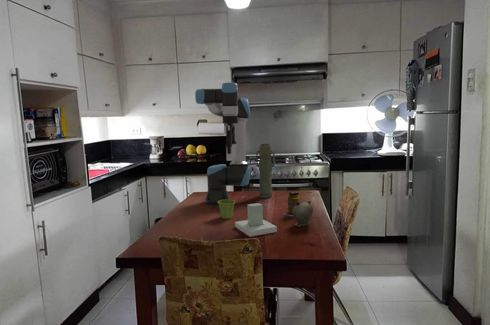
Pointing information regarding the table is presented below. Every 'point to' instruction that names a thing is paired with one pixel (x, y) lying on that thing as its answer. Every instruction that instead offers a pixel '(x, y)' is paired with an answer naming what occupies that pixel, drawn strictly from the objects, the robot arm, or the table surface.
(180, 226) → the table surface
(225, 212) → the plant pot
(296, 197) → the condiment
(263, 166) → the thermos
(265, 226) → the socket plate
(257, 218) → the key block
